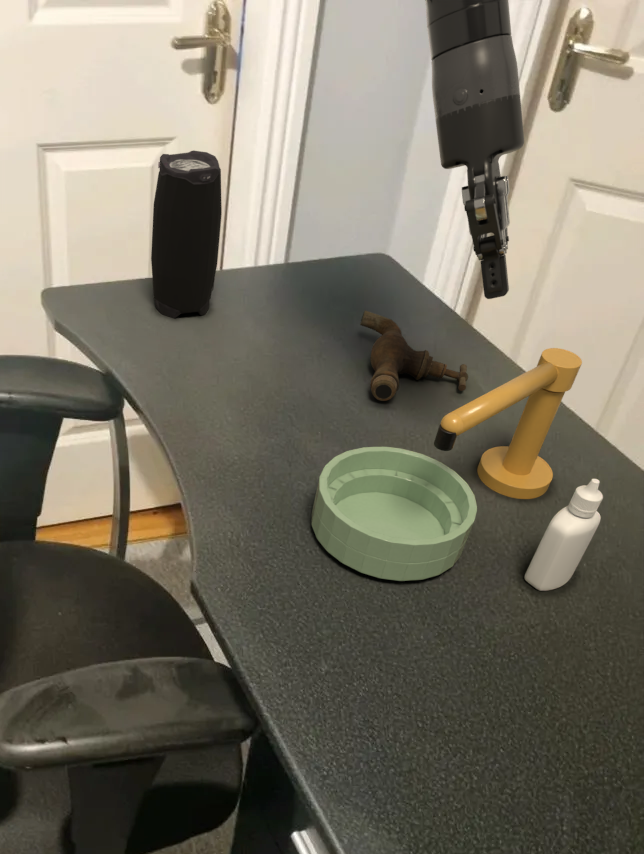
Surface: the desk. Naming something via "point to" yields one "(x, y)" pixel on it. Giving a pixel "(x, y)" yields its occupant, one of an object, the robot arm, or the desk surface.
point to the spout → (511, 394)
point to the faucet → (400, 359)
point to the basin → (392, 513)
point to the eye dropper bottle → (566, 539)
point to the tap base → (523, 452)
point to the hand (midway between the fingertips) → (497, 296)
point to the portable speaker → (186, 232)
